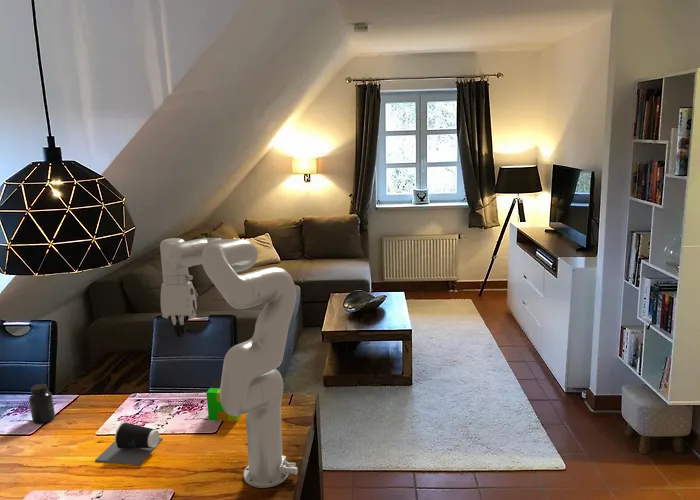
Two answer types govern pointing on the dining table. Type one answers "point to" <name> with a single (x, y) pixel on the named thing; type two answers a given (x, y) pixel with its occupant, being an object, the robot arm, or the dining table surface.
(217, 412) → the puzzle toy
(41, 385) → the supplement bottle
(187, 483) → the dining table surface
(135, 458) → the charcoal mat
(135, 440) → the dixie cup
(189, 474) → the dining table surface
